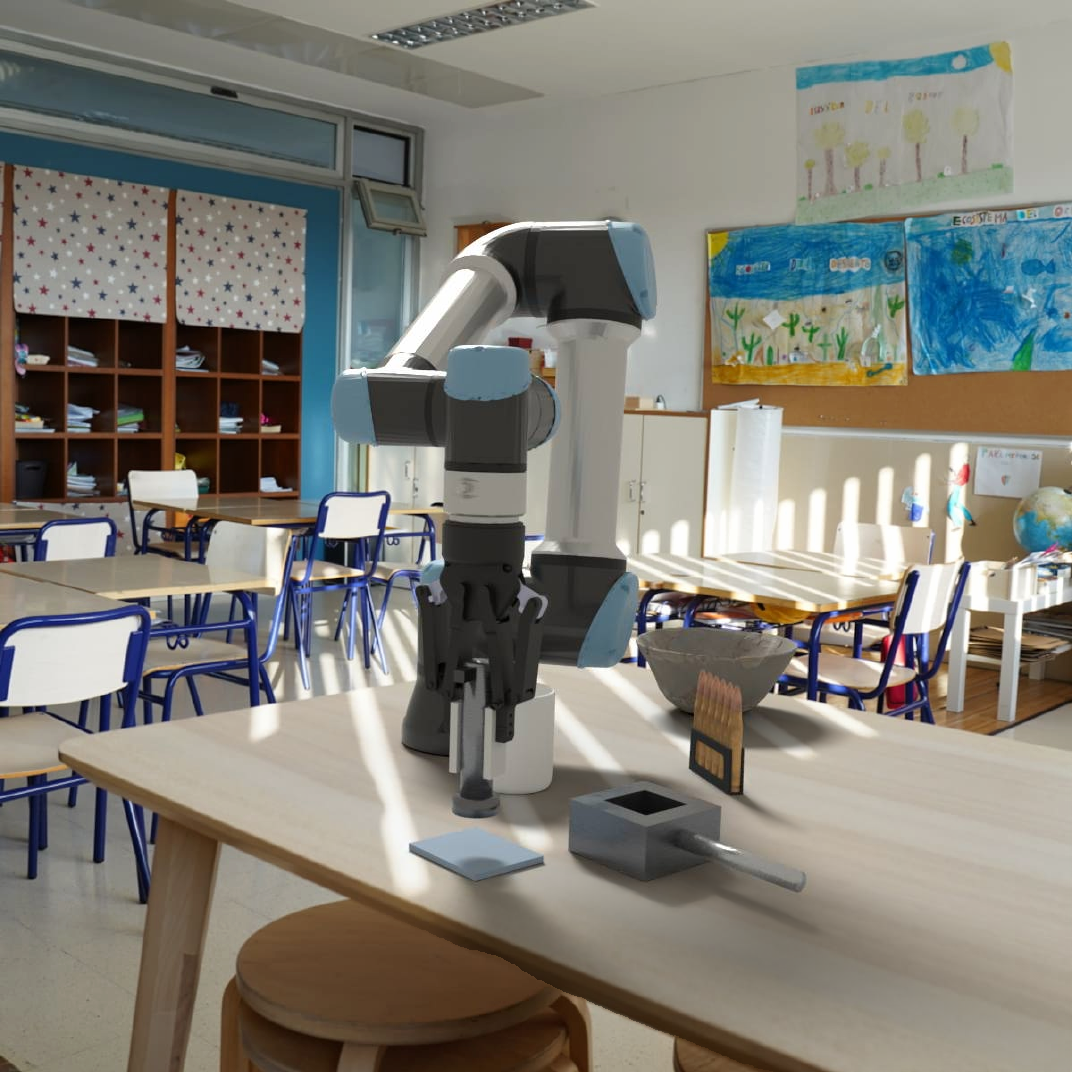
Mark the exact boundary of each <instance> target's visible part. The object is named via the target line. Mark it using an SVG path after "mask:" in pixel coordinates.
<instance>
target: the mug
mask: <svg viewBox="0 0 1072 1072" xmlns="http://www.w3.org/2000/svg"><path fill="white" fill-rule="evenodd" d="M555 705H556V690H555V688H554V687H553V686H550V685H548V684H544V683H540V682H537V684H536V693H535V697H534V698H533V699H531V700H529V701H526V702H523V703H521V704H517V705H516V707H515V723H514V737H513V739H512V740H511V741H509V742H506V773H505V774H502V775H500V776H498V777H496V778H494V779H493V791H496V792H498V793H499V794H503V795H504V794H505V795H527V794H528V795H529V794H533V793H535V794H536V793H539V792H541V791H544V790H546V789H547V788H548V787H550V785H551V783H552V779H553V774H554V773H553V769H554V745H555V744H554V741H555V739H554V738H555V715H556V714H555V710H556V706H555Z"/></svg>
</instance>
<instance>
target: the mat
mask: <svg viewBox="0 0 1072 1072" xmlns="http://www.w3.org/2000/svg"><path fill="white" fill-rule="evenodd" d="M408 850H410V851H411V852H413V853H415V854H418V855H419V856H422V857H424V858H426V859H428V860H430V861H432V862H434V863H437V864H439V865H440V866H442V867H445V868H447V869H449V870H451V871H453V872H455V873H457V874H459V875H461V876H464V877H466V878H467V879H470V880H472V881H474V882H478V881H480V880H481V881H482V880H484V879H485V880H486V879H487V878H491V877H492V878H493V877H495V876H499V875H502V874H503V875H504V874H506V873H509V872H513V871H516V870H520V869H523V868H527V867H530V866H535V865H538V864H541V863H544V861H545V860H544V859H545V857H544V855H543V854H541V853H540V852H539V853H538V852H536V851H534V850H532V849H529V848H527V847H524V846H522V845H519V844H517V843H515V842H512V841H511V840H509V839H506V838H504V837H501V836H498V835H496V834H494V833H492V832H490V831H487V830H485V829H482V828H480V827H478V826H474V827H470V828H467V829H466V828H465V829H462V830H458V831H457V830H456V831H454V832H450V833H445V834H442V835H437V836H434V837H429V838H426V839H420V840H416V841H413V842H408Z"/></svg>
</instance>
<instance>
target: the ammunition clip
mask: <svg viewBox="0 0 1072 1072" xmlns="http://www.w3.org/2000/svg"><path fill="white" fill-rule="evenodd" d="M693 715H694V716H693V725H692V726H690V740H689V741H690V743H689V744H690V745H689V757H688V769H689V770H690V771H691V772H693V773H694V774H696V775H697V776H699V777H700V778H702V779H703V780H705V781H706V782H708V783H710V784H711V785H712V786H714V787H715V788H717V789H718V790H719V791H721V792H723V793H724V794H726V795H728V796H730V795H733V796H734V795H744V786H745V755H746V754H745V750H746V749H745V747H743V736H744V735H743V734H744V731H743V730H744V722H743V712H742V699H741V693H740V689H739V686H736V687H735V689H734V690H733V686H732V683H731V682H729V684H728V686H726V682H725V680H724V679H722V681H721V683H720V681H719V678H718V676H715V678H714V680H713V677H712V674H711V672H709V673H708V675H707V677H706V673H705V670H704V669H702V671H701V673H700V676H699V680H698V686H697V696H696V702H695V709H694V713H693Z"/></svg>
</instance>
